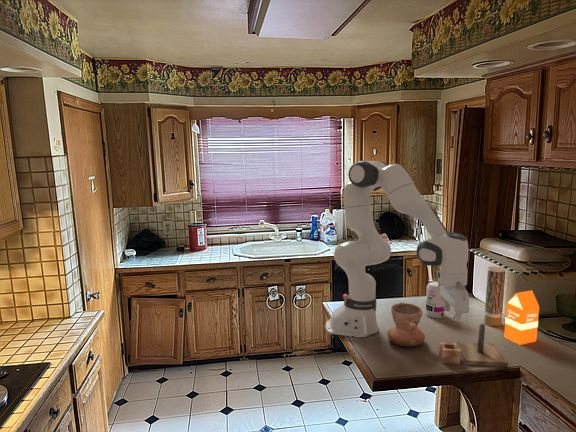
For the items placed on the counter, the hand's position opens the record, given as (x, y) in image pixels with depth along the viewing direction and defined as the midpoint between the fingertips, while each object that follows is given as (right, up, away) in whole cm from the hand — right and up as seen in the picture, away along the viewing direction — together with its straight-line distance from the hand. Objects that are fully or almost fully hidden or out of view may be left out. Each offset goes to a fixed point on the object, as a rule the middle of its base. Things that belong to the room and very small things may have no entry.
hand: (452, 315), depth 152 cm
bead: (0, -17, +3) cm, 17 cm away
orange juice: (+34, -14, +18) cm, 41 cm away
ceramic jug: (-12, -15, +18) cm, 26 cm away
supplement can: (+9, -10, +43) cm, 45 cm away
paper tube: (+30, -12, +33) cm, 46 cm away
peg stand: (+12, -16, +5) cm, 21 cm away
